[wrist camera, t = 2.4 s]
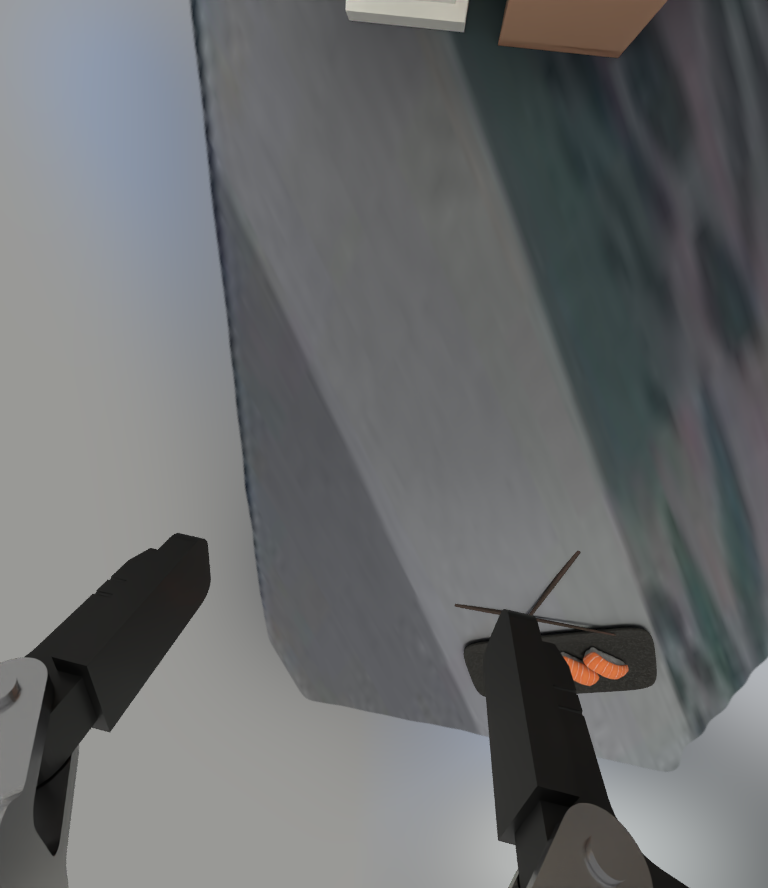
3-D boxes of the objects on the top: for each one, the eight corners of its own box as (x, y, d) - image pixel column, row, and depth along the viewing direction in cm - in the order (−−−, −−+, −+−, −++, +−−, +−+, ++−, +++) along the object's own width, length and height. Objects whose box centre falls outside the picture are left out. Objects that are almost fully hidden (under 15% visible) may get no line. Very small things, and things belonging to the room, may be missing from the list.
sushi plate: (478, 689, 71) (480, 710, 67) (433, 569, 59) (432, 587, 56) (653, 677, 63) (665, 701, 60) (639, 537, 52) (652, 556, 48)
